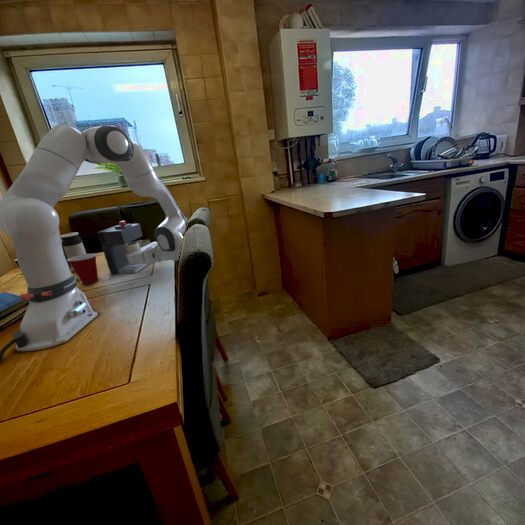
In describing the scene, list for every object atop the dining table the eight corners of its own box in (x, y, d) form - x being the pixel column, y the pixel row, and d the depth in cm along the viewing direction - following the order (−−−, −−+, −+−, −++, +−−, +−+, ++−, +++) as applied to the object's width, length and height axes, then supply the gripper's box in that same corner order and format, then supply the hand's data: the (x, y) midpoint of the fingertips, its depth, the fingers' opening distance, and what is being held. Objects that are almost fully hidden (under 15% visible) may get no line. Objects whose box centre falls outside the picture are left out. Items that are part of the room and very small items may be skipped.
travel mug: (82, 271, 136) (69, 236, 129) (68, 272, 137) (55, 237, 131) (94, 265, 143) (82, 231, 137) (81, 266, 144) (68, 232, 138)
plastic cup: (109, 275, 126) (101, 250, 121) (94, 286, 115) (84, 259, 111) (88, 277, 127) (79, 252, 123) (70, 287, 117) (60, 261, 113)
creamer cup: (141, 264, 127) (135, 244, 124) (128, 266, 127) (122, 246, 123) (145, 259, 133) (139, 240, 129) (132, 261, 132) (126, 242, 129)
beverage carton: (153, 248, 161) (150, 237, 159) (143, 259, 143) (139, 247, 141) (139, 250, 161) (136, 239, 158) (127, 261, 143) (123, 249, 140)
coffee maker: (133, 274, 124) (120, 228, 117) (110, 274, 127) (96, 230, 120) (150, 263, 136) (138, 221, 129) (129, 264, 139) (116, 222, 131)
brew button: (123, 225, 122) (122, 221, 122) (118, 225, 123) (117, 222, 122) (127, 224, 124) (126, 220, 124) (122, 224, 125) (121, 220, 124)
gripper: (168, 238, 133) (143, 239, 136) (143, 252, 115) (115, 253, 118) (171, 250, 135) (146, 251, 138) (147, 266, 117) (119, 267, 120)
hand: (132, 252), depth 128 cm, fingers closed on creamer cup, 6 cm apart
